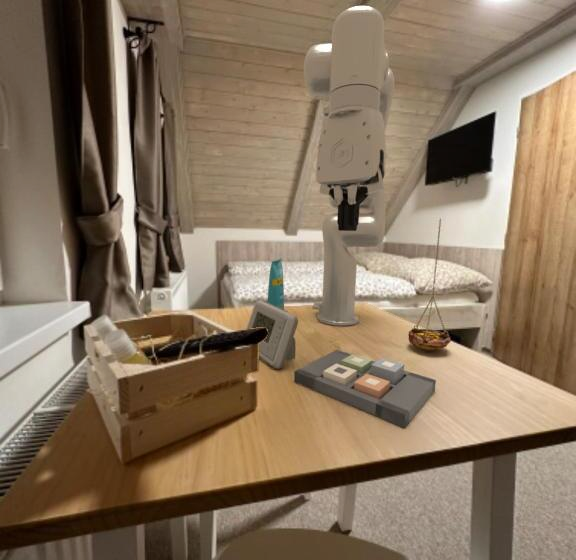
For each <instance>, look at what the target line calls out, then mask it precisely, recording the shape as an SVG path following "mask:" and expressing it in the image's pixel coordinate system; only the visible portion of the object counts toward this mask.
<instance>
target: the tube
mask: <svg viewBox="0 0 576 560" xmlns="http://www.w3.org/2000/svg"><path fill="white" fill-rule="evenodd" d="M282 262H283V261H282V258H278V259H276V260H273V261H271V264H270V270H269V276H268V277H269V278H268V288H267V290H268V291H267V302H266V303H270V304H272V305H274V306H276V307H279V308H281V309H283V310H285V293H284V286H285V285H284V273H283V270H284V269H283V263H282Z"/></svg>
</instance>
